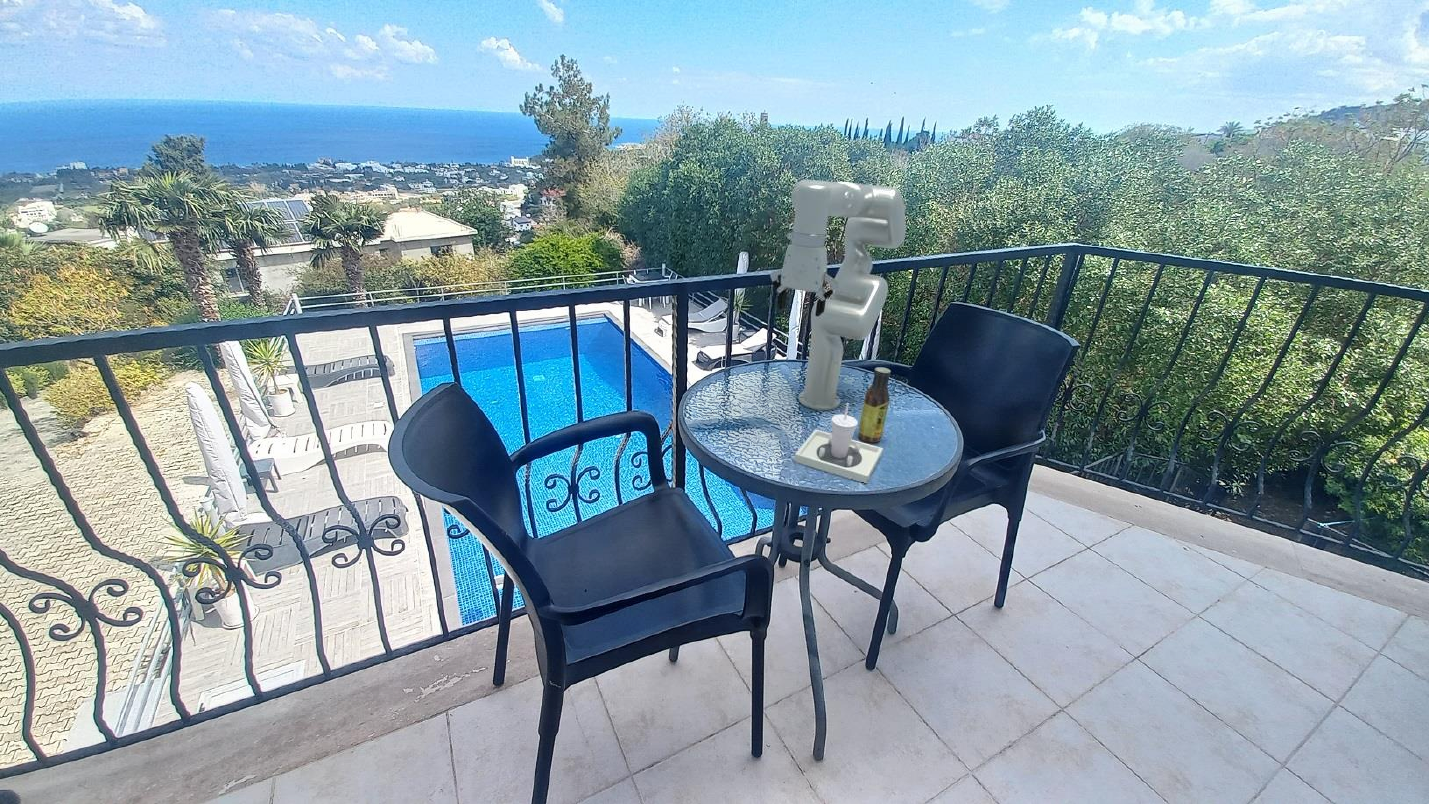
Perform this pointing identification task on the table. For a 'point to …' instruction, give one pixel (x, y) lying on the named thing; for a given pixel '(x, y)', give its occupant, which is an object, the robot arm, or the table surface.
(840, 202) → the robot arm
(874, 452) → the pin tray
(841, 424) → the smoothie
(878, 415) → the sauce bottle
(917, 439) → the table surface
